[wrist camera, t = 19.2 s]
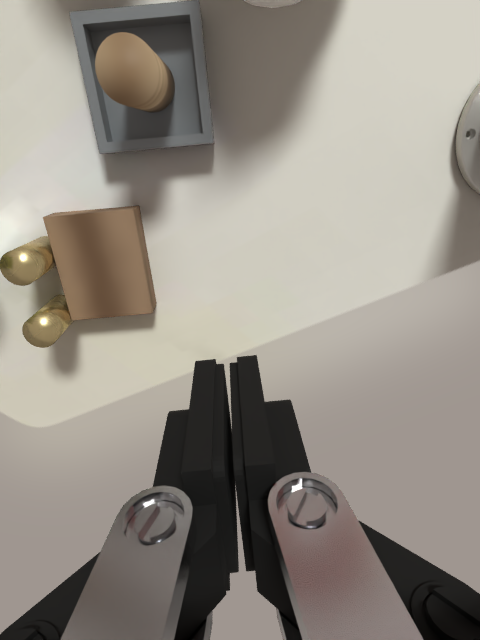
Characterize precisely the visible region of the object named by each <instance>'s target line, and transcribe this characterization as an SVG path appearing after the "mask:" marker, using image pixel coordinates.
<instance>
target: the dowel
mask: <svg viewBox="0 0 480 640" xmlns="http://www.w3.org/2000/svg"><path fill="white" fill-rule="evenodd" d="M95 70H96V75H97V78H98V81H99V83H100V85H101V87H102V89H103V90H104V92H105V93H106V94H107V95H108V96H109V97H110V98H111V99H112V100H114V101H115V102H117V103H119V104H122V105H125V106H129V107H133V108H136V109H140V110H143V111H147V112H159V111H162V110H164V109H165V108H166V107H167V106H168V105H169V104H170V103H171V101H172V99H173V97H174V93H175V82H174V77H173V75H172V72H171V71H170V69H169V67H168V66H167V65H166V64H165V63H164V62H163V61H162V60H161V59H160V57H159V56H158V55H157V54H156V53H155V52H154V51H153V50H152V49H151V48H150V47H149V46H148V45H147V44H146V43H145V42H144V41H143V40H142V39H141V38H140V37H138V36H136V35H134V34H131V33H127V32H118V33H114V34H112V35H110V36H108V37H107V38H106V39H105V40H104V41H103V42H102V43H101V45H100V46H99V48H98V51H97V54H96V59H95Z"/></svg>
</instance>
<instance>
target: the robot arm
mask: <svg viewBox="0 0 480 640" xmlns="http://www.w3.org/2000/svg"><path fill="white" fill-rule="evenodd" d="M466 133H467V136H466ZM456 156H457V161H458V166H459V168H460V171H461V173H462V176H463V177H464V179H465V180H466V182H467V183H468V184H469V186H470V187H471V188H473V189H474V190H475V191H476V192H477V193H479V194H480V83H479V84H478V85H477V87H476V88H475V90H474V91H473V92H472V94H471V95H470V97H469V99H468V101H467V103H466V105H465V107H464V109H463V112H462V115H461V118H460V121H459V124H458V129H457V135H456ZM230 385H231V413H232V429H231V420H230V412H229V404H228V395H227V387H226V378H225V371H224V364H216V360H215V359H213V360H202V361H195V368H194V376H193V384H192V391H191V399H190V407H189V409H188V410H178V411H170V412H169V413H168V417H167V421H166V426H165V431H164V435H163V440H162V445H161V450H160V455H159V460H158V464H157V469H156V474H155V479H154V484H153V487H152V488H149V489H146V490H143V491H141V492H140V493H138V494H136V495H135V496H133V497H132V498H131V499H130V500H129V501H128V502H126V503H125V505H123V507H122V509H121V510H120V512H119V513H118V515H117V517H116V519H115V521H114V523H113V525H112V528H111V530H110V532H109V534H108V536H107V539H106V541H105V543H104V545H103V547H102V550H101V552H100V553H98V554H97V555H96V556H95V557H93V558H92V559H91V560H90V561H89V562H87V563H86V564H85V565H84V566H82V567H81V568H80V569H79V570H78V571H76V572H75V573H74V574H73V575H71V576H70V577H69V578H68V579H67V580H65V581H64V582H63V583H62V584H60V585H59V586H58V587H57V588H56V589H54V590H53V591H52V592H51V593H49V594H48V595H47V596H46V597H45V598H43V599H42V600H41V601H40V602H38V603H37V604H36V605H35V606H34V607H32V608H31V609H30V610H29V611H27V612H26V613H25V614H24V615H23V616H21V617H20V618H19V619H18V620H16V621H15V622H14V623H13V624H12V625H10V626H9V627H8V628H7V629H5V630H4V631H3V632H2V633H1V634H0V640H210V635H211V629H212V610H213V609H214V608H215V607H216V605H217V604H218V603H219V602H220V601H221V600H222V599H223V597H224V596H225V595H226V591H228V590H230V578H229V577H230V573H234V572H238V571H239V570H238V568H239V567H238V542H237V516H236V493H235V492H236V491H237V500H238V508H239V516H240V524H241V532H242V540H243V549H244V557H245V564H246V571H254V570H255V571H256V581H257V590H258V592H259V593H260V594H261V595H263V596H264V597H265V598H266V599H267V600H268V601H269V602H270V603H272V604H273V605H274V606H275V607H276V610H277V618H278V622H279V625H280V629H281V633H282V637H283V640H480V594H479V593H477V592H476V591H475V590H473V589H472V588H471V587H469V586H468V585H466V584H465V583H463V582H462V581H460V580H458V579H457V578H455V577H453V576H451V575H450V574H448V573H446V572H445V571H443V570H441V569H440V568H438V567H436V566H435V565H433V564H431V563H429V562H428V561H426V560H424V559H423V558H421V557H419V556H418V555H416V554H414V553H412V552H411V551H409V550H407V549H405V548H404V547H402V546H401V545H399V544H397V543H396V542H394V541H392V540H390V539H389V538H387V537H386V536H384V535H382V534H380V533H379V532H377V531H375V530H373V529H372V528H370V527H368V526H367V525H365V524H364V523H362V522H360V521H358V520H357V518H356V516H355V514H354V512H353V510H352V509H351V507H350V505H349V503H348V501H347V500H346V498H345V496H344V495H343V493H342V491H341V490H340V489H339V487H338V486H337V485H336V484H335V483H334V482H332V481H331V480H329V479H328V478H326V477H324V476H321V475H319V474H316V473H311V470H310V467H309V463H308V459H307V456H306V452H305V449H304V445H303V442H302V438H301V434H300V431H299V428H298V424H297V420H296V417H295V413H294V410H293V406H292V403H291V400H281V401H270V402H264V396H263V390H262V384H261V378H260V373H259V368H258V361H257V356H256V355H254V356H243V357H237V362H236V363H230ZM235 483H236V491H235Z"/></svg>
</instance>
